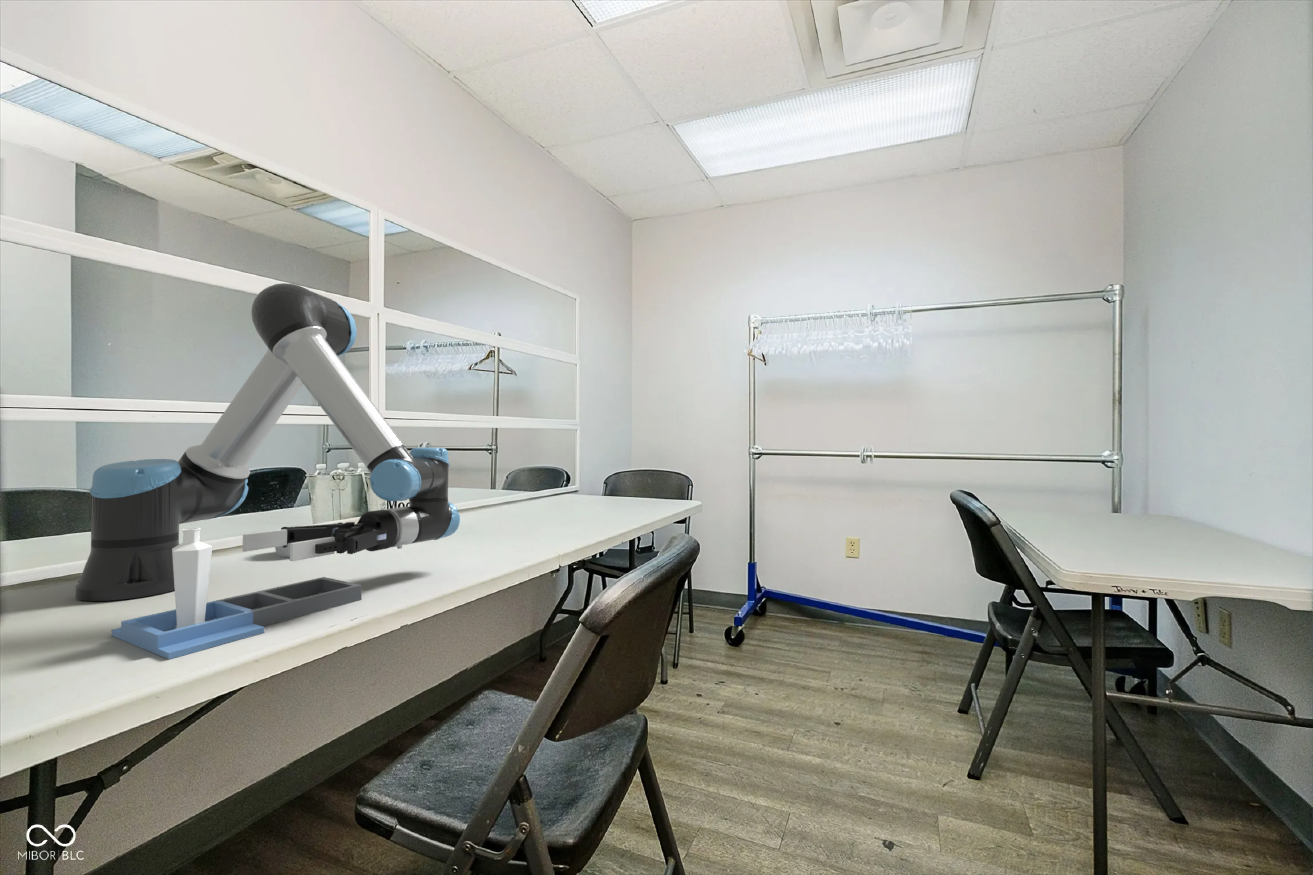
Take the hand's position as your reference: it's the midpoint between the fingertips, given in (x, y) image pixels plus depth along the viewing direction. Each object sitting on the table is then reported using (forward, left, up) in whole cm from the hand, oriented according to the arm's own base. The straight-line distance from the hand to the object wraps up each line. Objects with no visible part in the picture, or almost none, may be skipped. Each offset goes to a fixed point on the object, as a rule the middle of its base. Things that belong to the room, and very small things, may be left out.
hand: (266, 547), depth 87 cm
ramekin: (-25, +43, -11) cm, 51 cm away
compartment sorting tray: (-1, -1, -11) cm, 11 cm away
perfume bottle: (-4, -9, -11) cm, 15 cm away
